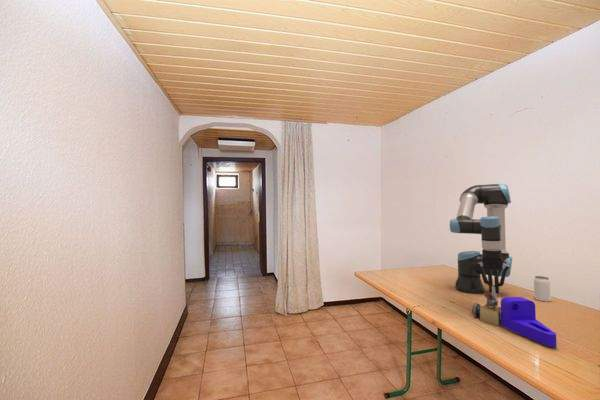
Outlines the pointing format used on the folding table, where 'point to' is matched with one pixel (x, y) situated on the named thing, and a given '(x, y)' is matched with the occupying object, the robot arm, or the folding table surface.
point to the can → (542, 288)
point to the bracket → (525, 320)
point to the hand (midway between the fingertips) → (494, 299)
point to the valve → (487, 313)
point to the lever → (490, 299)
